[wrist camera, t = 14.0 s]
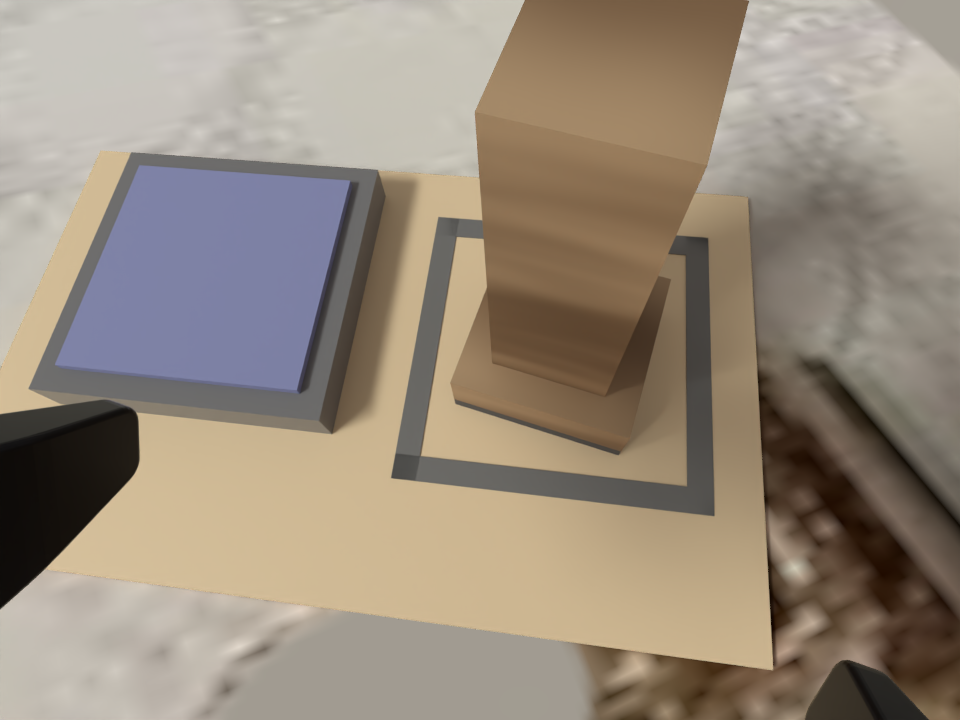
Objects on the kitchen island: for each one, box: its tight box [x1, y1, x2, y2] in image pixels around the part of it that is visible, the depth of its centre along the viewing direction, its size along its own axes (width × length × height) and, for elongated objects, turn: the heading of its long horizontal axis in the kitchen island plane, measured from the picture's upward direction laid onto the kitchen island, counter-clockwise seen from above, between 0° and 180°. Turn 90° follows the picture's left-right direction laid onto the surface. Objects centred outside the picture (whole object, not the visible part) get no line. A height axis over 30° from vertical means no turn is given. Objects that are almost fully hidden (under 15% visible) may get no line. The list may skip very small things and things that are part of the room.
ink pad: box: [28, 152, 386, 434], centre depth 21 cm, size 10×10×2 cm
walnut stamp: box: [450, 0, 749, 455], centre depth 15 cm, size 6×6×12 cm
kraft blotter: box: [0, 151, 773, 670], centre depth 21 cm, size 16×26×1 cm, turn 83°
